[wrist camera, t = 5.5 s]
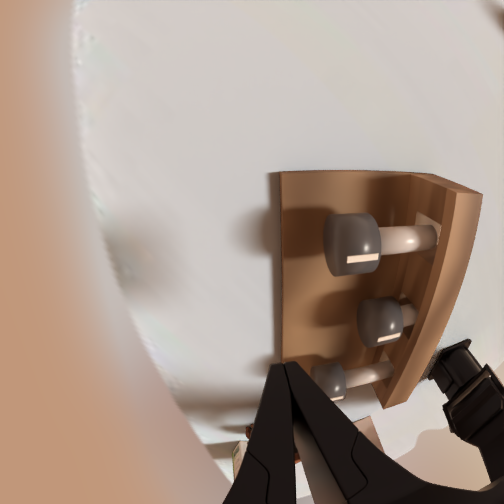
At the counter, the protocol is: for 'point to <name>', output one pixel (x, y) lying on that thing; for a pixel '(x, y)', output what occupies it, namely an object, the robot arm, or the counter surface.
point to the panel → (379, 281)
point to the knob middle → (383, 320)
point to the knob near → (369, 242)
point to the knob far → (348, 377)
